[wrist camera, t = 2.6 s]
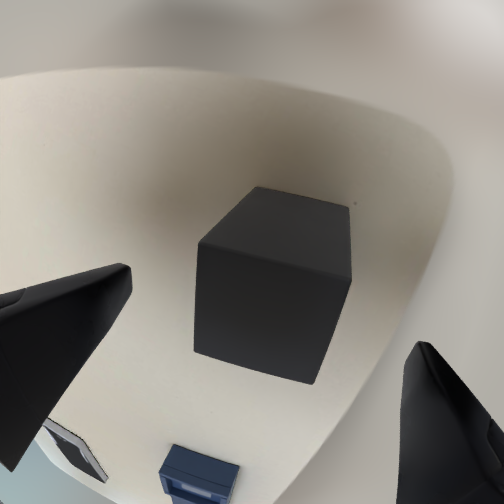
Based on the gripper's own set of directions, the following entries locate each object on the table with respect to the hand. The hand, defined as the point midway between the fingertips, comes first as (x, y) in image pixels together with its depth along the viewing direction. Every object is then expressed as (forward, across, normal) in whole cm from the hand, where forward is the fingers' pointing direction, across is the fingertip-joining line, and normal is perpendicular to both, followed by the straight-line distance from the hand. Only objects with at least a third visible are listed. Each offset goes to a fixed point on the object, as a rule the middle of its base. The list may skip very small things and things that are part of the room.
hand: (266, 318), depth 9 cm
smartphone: (+6, +24, +42) cm, 49 cm away
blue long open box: (+6, +3, +32) cm, 33 cm away
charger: (+6, 0, 0) cm, 6 cm away
